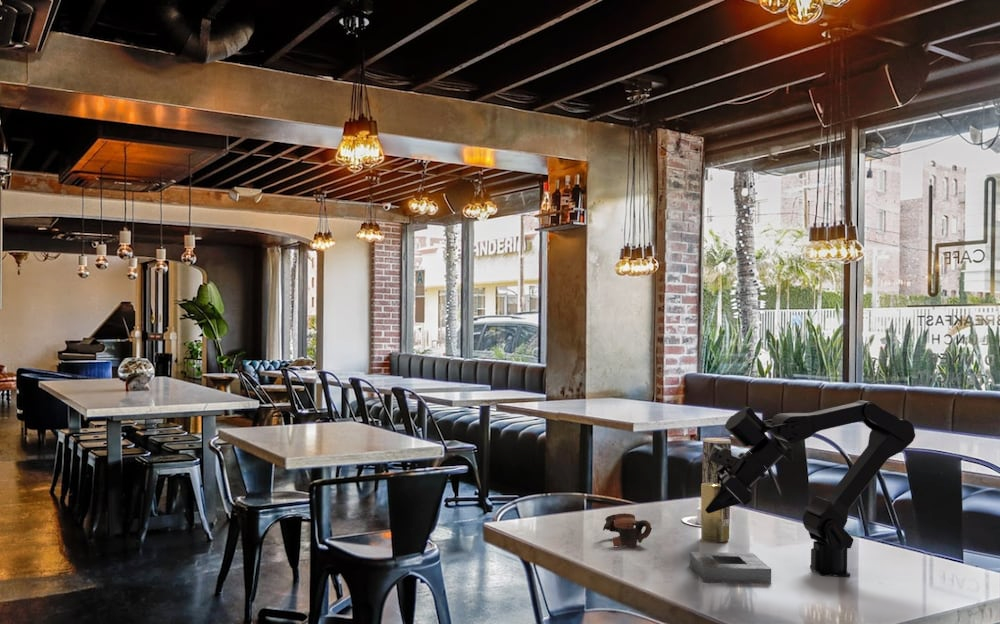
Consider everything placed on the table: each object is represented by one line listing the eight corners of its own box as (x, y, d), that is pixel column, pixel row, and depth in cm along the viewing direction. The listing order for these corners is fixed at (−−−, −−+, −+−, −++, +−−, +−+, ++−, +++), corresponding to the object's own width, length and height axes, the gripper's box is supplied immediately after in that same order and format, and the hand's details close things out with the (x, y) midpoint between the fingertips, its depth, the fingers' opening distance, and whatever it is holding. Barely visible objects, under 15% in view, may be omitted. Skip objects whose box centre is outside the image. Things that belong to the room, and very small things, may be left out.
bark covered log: (726, 536, 208) (728, 438, 208) (731, 543, 201) (733, 441, 201) (699, 535, 208) (701, 437, 209) (703, 542, 202) (705, 440, 202)
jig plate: (752, 566, 182) (752, 553, 182) (771, 583, 170) (771, 568, 170) (689, 565, 182) (689, 551, 182) (703, 582, 170) (704, 567, 170)
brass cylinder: (720, 537, 181) (719, 482, 181) (725, 542, 177) (725, 486, 177) (699, 537, 181) (699, 482, 182) (704, 542, 177) (703, 486, 177)
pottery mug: (601, 548, 196) (597, 515, 200) (612, 557, 203) (608, 525, 208) (650, 541, 192) (645, 506, 196) (659, 550, 199) (654, 517, 204)
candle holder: (673, 520, 227) (674, 504, 227) (711, 518, 230) (712, 502, 230) (696, 530, 215) (696, 514, 215) (736, 528, 219) (736, 512, 219)
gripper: (726, 428, 188) (677, 474, 190) (735, 439, 170) (680, 490, 171) (762, 463, 186) (712, 510, 188) (775, 478, 168) (719, 530, 170)
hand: (705, 509), depth 179 cm, fingers closed on brass cylinder, 5 cm apart
